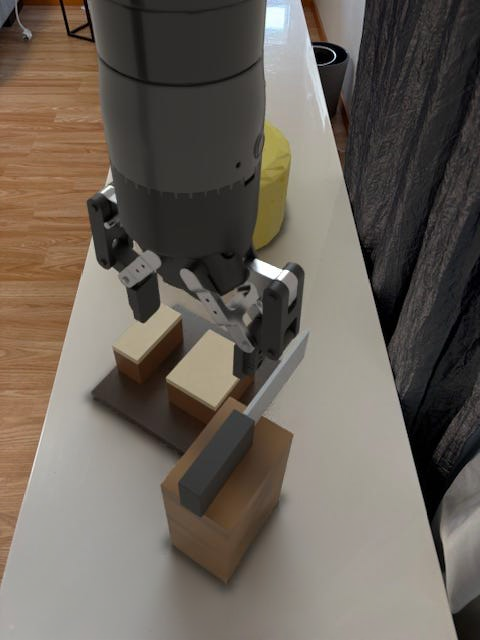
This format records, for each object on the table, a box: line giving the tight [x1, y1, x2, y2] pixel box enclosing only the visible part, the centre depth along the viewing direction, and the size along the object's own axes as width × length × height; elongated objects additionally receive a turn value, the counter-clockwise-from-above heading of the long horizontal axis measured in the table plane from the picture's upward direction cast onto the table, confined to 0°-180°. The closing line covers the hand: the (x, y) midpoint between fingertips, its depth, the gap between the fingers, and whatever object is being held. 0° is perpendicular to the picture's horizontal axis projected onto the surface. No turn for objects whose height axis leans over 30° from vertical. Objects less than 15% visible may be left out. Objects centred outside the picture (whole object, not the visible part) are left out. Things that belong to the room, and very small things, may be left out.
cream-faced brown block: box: [166, 329, 255, 425], centre depth 77 cm, size 10×8×6 cm
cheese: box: [253, 119, 292, 251], centre depth 101 cm, size 26×26×15 cm
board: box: [90, 304, 282, 457], centre depth 82 cm, size 20×20×2 cm
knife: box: [178, 328, 310, 518], centre depth 56 cm, size 22×2×5 cm, turn 147°
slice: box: [111, 302, 183, 384], centre depth 81 cm, size 10×4×6 cm, turn 147°
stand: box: [159, 397, 295, 584], centre depth 62 cm, size 12×8×18 cm, turn 147°
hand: (195, 341), depth 40 cm, fingers open, 8 cm apart
